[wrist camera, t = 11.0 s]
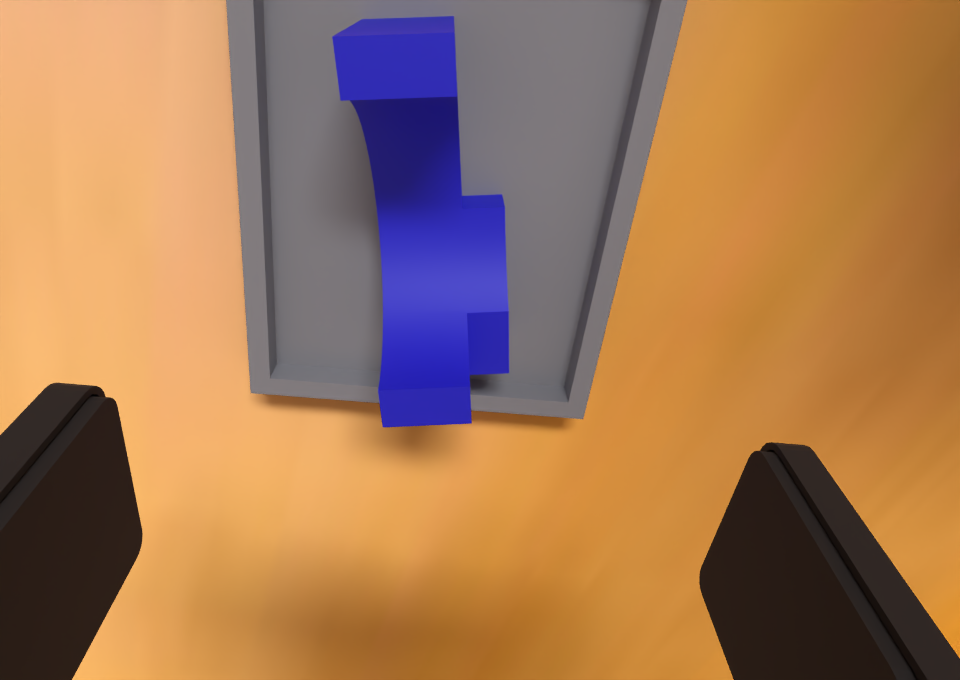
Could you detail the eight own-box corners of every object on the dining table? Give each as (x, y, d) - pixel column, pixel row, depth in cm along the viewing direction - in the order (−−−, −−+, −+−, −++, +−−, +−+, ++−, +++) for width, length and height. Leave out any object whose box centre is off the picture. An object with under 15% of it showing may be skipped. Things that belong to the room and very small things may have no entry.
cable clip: (503, 334, 27) (515, 421, 22) (396, 339, 27) (382, 427, 22) (499, 14, 21) (515, 30, 16) (361, 19, 21) (332, 36, 16)
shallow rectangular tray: (683, -67, 21) (704, -70, 19) (575, 392, 30) (583, 419, 28) (237, -135, 20) (217, -144, 18) (262, 367, 29) (250, 393, 27)
